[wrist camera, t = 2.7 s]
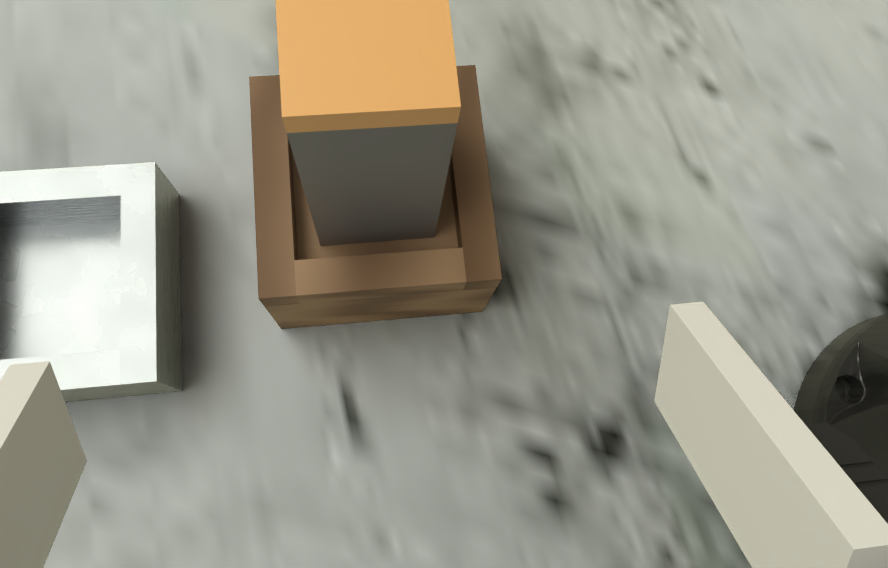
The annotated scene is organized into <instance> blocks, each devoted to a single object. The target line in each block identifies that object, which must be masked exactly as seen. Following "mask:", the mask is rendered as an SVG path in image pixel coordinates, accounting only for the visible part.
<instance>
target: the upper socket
mask: <svg viewBox="0 0 888 568" xmlns="http://www.w3.org/2000/svg"><path fill="white" fill-rule="evenodd" d="M456 68H457V77H458V85H459V93H460V102H461V110H460V114H459V119H458V124H457V129H456V134H455V139H454V144H453V149H452V154H451V159H450V164H449V169H448V173H447V178H446V183H445V188H444V193H443V198H442V203H441V208H440V213H439V218H438V223H437V227H436V232H435V237H434V238H423V239H409V240H396V241H383V242H369V243H356V244H342V245H329V246H320V243H319V239H318V236H317V233H316V229H315V226H314V223H313V219H312V216H311V213H310V209H309V206H308V203H307V199H306V196H305V193H304V189H303V186H302V183H301V179H300V176H299V173H298V169H297V166H296V162H295V159H294V156H293V152H292V149H291V146H290V142H289V139H288V136H287V132H286V129H285V126H284V122H283V119H282V110H281V92H280V75H275V76H255V77H249V81H250V104H251V128H252V152H253V175H254V199H255V223H256V247H257V270H258V294H259V300H260V301H261V302H262V304H263V305H264V306H265V308H266V309H267V310H268V312H269V313H270V314H271V316H272V317H273V318H274V320H275V321H276V322H277V324H278V325H279V326H280V328H281V329H284V328H296V327H308V326H320V325H331V324H343V323H355V322H366V321H378V320H390V319H402V318H413V317H425V316H437V315H448V314H460V313H472V312H482V311H483V310H484V308H485V306H486V305H487V303H488V301H489V300H490V298H491V296H492V295H493V293H494V291H495V290H496V288H497V286H498V285H499V283H500V281H501V280H502V275H501V267H500V259H499V251H498V243H497V235H496V227H495V219H494V211H493V203H492V195H491V187H490V179H489V171H488V163H487V156H486V148H485V140H484V132H483V124H482V116H481V108H480V100H479V92H478V84H477V76H476V68H475V65H469V66H456Z"/></svg>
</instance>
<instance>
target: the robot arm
mask: <svg viewBox="0 0 888 568" xmlns="http://www.w3.org/2000/svg"><path fill="white" fill-rule="evenodd" d="M654 402H655V403H656V405H657V407H658V409H659V410H660V412H661V414H662V415H663V417H664V419H665V420H666V422H667V424H668V426H669V427H670V429H671V431H672V432H673V434H674V436H675V437H676V439H677V441H678V443H679V444H680V446H681V448H682V449H683V451H684V453H685V454H686V456H687V458H688V460H689V461H690V463H691V465H692V466H693V468H694V470H695V471H696V473H697V475H698V477H699V478H700V480H701V482H702V483H703V485H704V487H705V488H706V490H707V492H708V494H709V495H710V497H711V499H712V500H713V502H714V504H715V505H716V507H717V509H718V511H719V512H720V514H721V516H722V517H723V519H724V521H725V522H726V524H727V526H728V528H729V529H730V531H731V533H732V534H733V536H734V538H735V539H736V541H737V543H738V544H739V546H740V548H741V550H742V551H743V553H744V555H745V556H746V558H747V560H748V561H749V563H750V565H751V567H752V568H888V313H887V314H884V315H881V316H878V317H875V318H872V319H869V320H866V321H864V322H861V323H859V324H857V325H855V326H853V327H852V328H850V329H848V330H847V331H845V332H844V333H842V334H841V335H839V336H838V337H837V338H836V339H834V340H833V341H832V342H831V343H830V344H829V345H828V346H827V347H826V348H825V349H824V350H823V351H822V352H821V354H820V355H819V356H818V357H817V359H816V360H815V361H814V363H813V365H812V366H811V368H810V369H809V371H808V373H807V375H806V377H805V379H804V381H803V383H802V386H801V388H800V391H799V394H798V397H797V400H796V404H795V408H794V410H793V409H792V408H791V407H790V406H789V404H788V403H787V402H786V401H785V400H784V398H783V397H782V396H781V395H780V394H779V392H778V391H777V390H776V389H775V388H774V386H773V385H772V384H771V383H770V382H769V380H768V379H767V378H766V377H765V376H764V374H763V373H762V372H761V371H760V370H759V368H758V367H757V366H756V365H755V364H754V362H753V361H752V360H751V359H750V357H749V356H748V355H747V354H746V353H745V351H744V350H743V349H742V348H741V347H740V345H739V344H738V343H737V342H736V341H735V339H734V338H733V337H732V336H731V335H730V333H729V332H728V331H727V330H726V329H725V327H724V326H723V325H722V324H721V323H720V321H719V320H718V319H717V318H716V317H715V315H714V314H713V313H712V312H711V311H710V309H709V308H708V307H707V306H706V305H705V303H704V302H694V303H683V304H672V305H670V308H669V314H668V321H667V327H666V333H665V339H664V345H663V351H662V357H661V363H660V370H659V376H658V382H657V388H656V394H655V400H654ZM86 462H87V460H86V457H85V455H84V452H83V449H82V447H81V444H80V441H79V439H78V436H77V433H76V430H75V428H74V425H73V422H72V420H71V417H70V414H69V412H68V409H67V406H66V403H65V401H64V398H63V395H62V393H61V390H60V387H59V385H58V382H57V379H56V376H55V374H54V371H53V368H52V366H51V363H50V361H45V362H34V363H23V364H12V365H10V366H9V367H8V369H7V370H6V372H5V374H4V375H3V377H2V378H1V380H0V568H43V567H44V564H45V562H46V559H47V557H48V555H49V552H50V550H51V547H52V545H53V542H54V540H55V537H56V535H57V533H58V530H59V528H60V525H61V523H62V520H63V518H64V515H65V513H66V511H67V508H68V506H69V503H70V501H71V498H72V496H73V493H74V491H75V489H76V486H77V484H78V481H79V479H80V476H81V474H82V471H83V469H84V467H85V464H86Z"/></svg>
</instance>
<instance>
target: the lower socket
mask: <svg viewBox="0 0 888 568" xmlns="http://www.w3.org/2000/svg"><path fill="white" fill-rule="evenodd" d="M45 361H50V363H51V366H52V368H53V371H54V374H55V376H56V379H57V382H58V385H59V387H60V390H61V393H62V395H63V398H64V401H65V402H70V401H81V400H91V399H102V398H113V397H124V396H135V395H145V394H156V393H167V392H178V391H182V333H181V269H180V206H179V193H178V192H177V191H176V189H175V188H174V187H173V185H172V184H171V183H170V181H169V180H168V179H167V178H166V176H165V175H164V174H163V172H162V171H161V170H160V168H159V167H158V166H157V164H156V163H155V162H151V163H135V164H119V165H103V166H87V167H71V168H55V169H39V170H23V171H6V172H0V380H1V378H2V377H3V375H4V374H5V372H6V370H7V369H8V367H9V366H10V365H12V364H23V363H34V362H45Z"/></svg>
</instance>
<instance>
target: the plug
mask: <svg viewBox="0 0 888 568" xmlns="http://www.w3.org/2000/svg"><path fill="white" fill-rule="evenodd" d="M276 17H277V35H278V54H279V73H280V92H281V110H282V119H283V122H284V126H285V129H286V132H287V136H288V139H289V142H290V146H291V149H292V152H293V156H294V159H295V162H296V166H297V169H298V173H299V176H300V179H301V183H302V186H303V189H304V193H305V196H306V199H307V203H308V206H309V209H310V213H311V216H312V219H313V223H314V226H315V229H316V233H317V236H318V239H319V243H320V246H329V245H342V244H356V243H369V242H383V241H396V240H409V239H423V238H434V237H435V232H436V227H437V223H438V218H439V213H440V208H441V203H442V198H443V193H444V188H445V183H446V178H447V173H448V169H449V164H450V159H451V154H452V149H453V144H454V139H455V134H456V129H457V124H458V119H459V114H460V110H461V102H460V93H459V85H458V77H457V68H456V60H455V51H454V43H453V34H452V26H451V18H450V9H449V1H448V0H276Z"/></svg>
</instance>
